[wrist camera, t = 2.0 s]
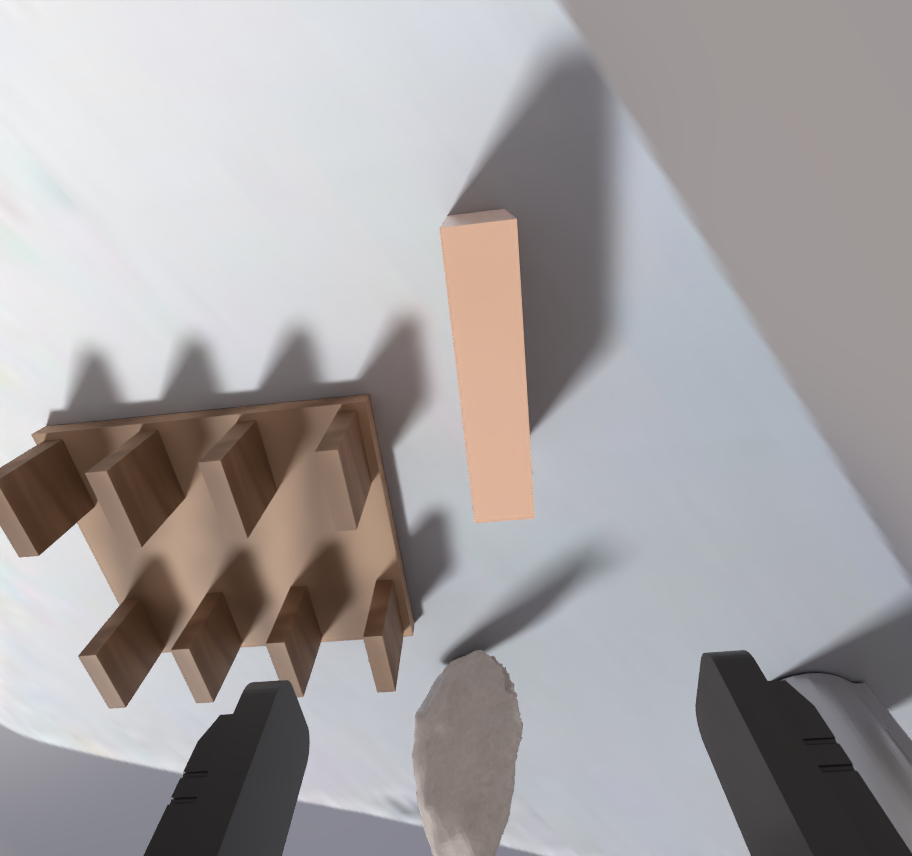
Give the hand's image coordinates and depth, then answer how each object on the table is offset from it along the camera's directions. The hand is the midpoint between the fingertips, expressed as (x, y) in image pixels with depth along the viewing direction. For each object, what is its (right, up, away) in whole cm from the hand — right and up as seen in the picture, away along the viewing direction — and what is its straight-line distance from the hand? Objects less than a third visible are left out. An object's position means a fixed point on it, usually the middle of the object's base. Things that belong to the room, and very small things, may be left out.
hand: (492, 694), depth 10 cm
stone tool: (0, -13, +31) cm, 34 cm away
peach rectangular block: (+1, +10, +20) cm, 23 cm away
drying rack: (-15, -2, +26) cm, 31 cm away
